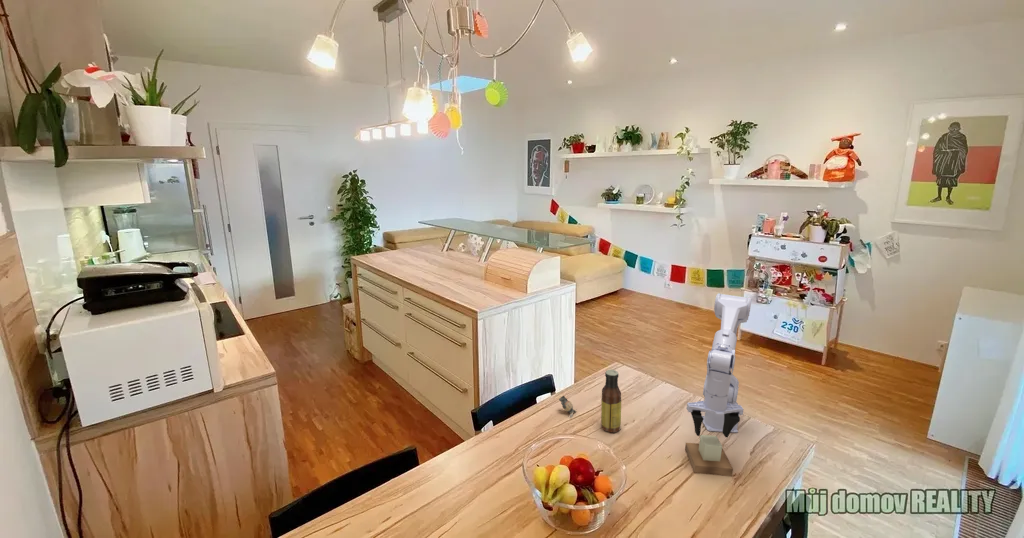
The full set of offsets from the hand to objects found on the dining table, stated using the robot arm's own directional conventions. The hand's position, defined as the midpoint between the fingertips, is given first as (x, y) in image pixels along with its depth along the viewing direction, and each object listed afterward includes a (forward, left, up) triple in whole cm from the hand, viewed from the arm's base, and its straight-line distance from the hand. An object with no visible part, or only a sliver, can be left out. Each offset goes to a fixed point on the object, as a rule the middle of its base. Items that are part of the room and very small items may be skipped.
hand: (711, 434), depth 122 cm
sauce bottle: (+26, -14, -9) cm, 31 cm away
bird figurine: (+40, -21, -10) cm, 46 cm away
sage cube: (0, 0, -7) cm, 7 cm away
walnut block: (0, 0, -10) cm, 10 cm away
